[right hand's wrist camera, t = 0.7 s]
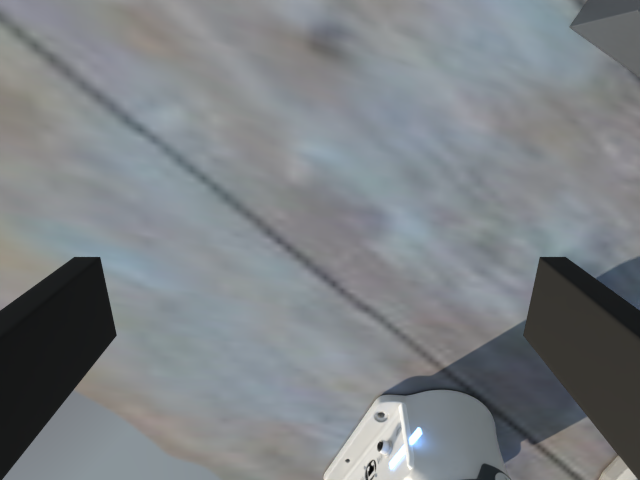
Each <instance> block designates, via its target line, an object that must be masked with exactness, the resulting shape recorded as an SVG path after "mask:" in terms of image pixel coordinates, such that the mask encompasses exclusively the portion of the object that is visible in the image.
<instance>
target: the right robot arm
mask: <svg viewBox="0 0 640 480" xmlns="http://www.w3.org/2000/svg"><path fill="white" fill-rule="evenodd" d="M116 336H117V335H116V330H115V325H114V321H113V316H112V311H111V306H110V302H109V297H108V292H107V287H106V283H105V278H104V273H103V268H102V264H101V259H100V257H74V258H72V259H71V260H70V261H68V262H67V263H66V264H64V265H63V266H61V267H60V268H59V269H57V270H56V271H55V272H53V273H52V274H50V275H49V276H48V277H46V278H45V279H43V280H42V281H41V282H39V283H38V284H37V285H35V286H34V287H32V288H31V289H30V290H28V291H27V292H25V293H24V294H23V295H21V296H20V297H19V298H17V299H16V300H14V301H13V302H12V303H10V304H9V305H8V306H6V307H5V308H3V309H2V310H1V311H0V480H2V479H3V478H4V476H5V475H6V474H7V473H8V471H9V470H10V469H11V468H12V466H13V465H14V464H15V463H16V461H17V460H18V459H19V458H20V456H21V455H22V454H23V453H24V451H25V450H26V449H27V448H28V446H29V445H30V444H31V443H32V441H33V440H34V439H35V438H36V436H37V435H38V434H39V432H40V431H41V430H42V429H43V427H44V426H45V425H46V424H47V422H48V421H49V420H50V419H51V417H52V416H53V415H54V414H55V412H56V411H57V410H58V409H59V407H60V406H61V405H62V404H63V402H64V401H65V400H66V398H67V397H68V396H69V395H70V393H71V392H72V391H73V390H74V388H75V387H76V386H77V385H78V383H79V382H80V381H81V380H82V378H83V377H84V376H85V375H86V373H87V372H88V371H89V370H90V368H91V367H92V366H93V365H94V363H95V362H96V361H97V359H98V358H99V357H100V356H101V354H102V353H103V352H104V351H105V349H106V348H107V347H108V346H109V344H110V343H111V342H112V341H113V339H114V338H115V337H116ZM523 336H524V337H525V338H526V339H527V341H528V342H529V343H530V344H531V346H532V347H533V348H534V349H535V351H536V352H537V353H538V354H539V356H540V357H541V358H542V359H543V361H544V362H545V363H546V365H547V366H548V367H549V368H550V370H551V371H552V372H553V373H554V375H555V376H556V377H557V378H558V380H559V381H560V382H561V383H562V385H563V386H564V387H565V388H566V390H567V391H568V392H569V393H570V395H571V396H572V397H573V399H574V400H575V401H576V402H577V404H578V405H579V406H580V407H581V409H582V410H583V411H584V412H585V414H586V415H587V416H588V417H589V419H590V420H591V421H592V422H593V424H594V425H595V426H596V427H597V429H598V430H599V431H600V433H601V434H602V435H603V436H604V438H605V439H606V440H607V441H608V443H609V444H610V445H611V446H612V448H613V449H614V450H615V451H616V453H617V454H618V455H619V456H620V458H621V459H622V460H623V461H624V463H625V464H626V465H627V467H628V468H629V469H630V470H631V472H632V473H633V474H634V475H635V477H636V478H637V479H638V480H640V311H639V310H638V309H637V308H635V307H634V306H632V305H631V304H630V303H628V302H627V301H626V300H624V299H623V298H621V297H620V296H619V295H617V294H616V293H615V292H613V291H612V290H610V289H609V288H608V287H606V286H605V285H603V284H602V283H601V282H599V281H598V280H597V279H595V278H594V277H592V276H591V275H590V274H588V273H587V272H585V271H584V270H583V269H581V268H580V267H579V266H577V265H576V264H574V263H573V262H572V261H570V260H569V259H568V258H566V257H540V259H539V264H538V268H537V273H536V278H535V283H534V287H533V292H532V297H531V302H530V306H529V311H528V316H527V321H526V325H525V330H524V335H523Z"/></svg>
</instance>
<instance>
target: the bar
mask: <svg viewBox="0 0 640 480" xmlns="http://www.w3.org/2000/svg"><path fill="white" fill-rule="evenodd" d="M570 28H571V29H572V30H574V31H575V32H577V33H578V34H579V35H581V36H582V37H584V38H585V39H586V40H588V41H589V42H591V43H592V44H593V45H595V46H596V47H598V48H599V49H600V50H602V51H603V52H605V53H606V54H607V55H609V56H610V57H612V58H613V59H614V60H616V61H617V62H619V63H620V64H621V65H623V66H624V67H626V68H627V69H629V70H630V71H631V72H633V73H634V74H636V75H637V76H638V77H640V0H588V1H587V2H586V4H585V5H584V7H583V8H582V9H581V11H580V12H579V14H578V15H577V17H576V18H575V20H574V21H573V22H572V24H571V25H570Z"/></svg>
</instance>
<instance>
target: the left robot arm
mask: <svg viewBox="0 0 640 480" xmlns="http://www.w3.org/2000/svg"><path fill="white" fill-rule="evenodd" d="M380 412H383V413H380ZM324 480H511V479H510V478H509V476H508V473H507V471H506V468H505V465H504V462H503V459H502V455H501V452H500V449H499V445H498V440H497V435H496V426H495V422H494V419H493V416H492V414H491V413H490V411H489V410H488V408H487V407H486V406H485V405H484V404H483V403H481V402H480V401H479V400H477V399H476V398H474V397H472V396H470V395H468V394H465V393H462V392H458V391H452V390H431V391H425V392H421V393H417V394H413V395H407V396H403V395H382V396H380V397H378V398H377V399H376V400H375V402H374V403H373V405H372V406H371V407H370V409H369V410H368V412H367V413H366V415H365V416H364V418H363V419H362V420H361V422H360V423H359V425H358V426H357V428H356V429H355V430H354V432H353V433H352V435H351V436H350V438H349V439H348V440H347V442H346V443H345V445H344V446H343V448H342V449H341V451H340V452H339V453H338V455H337V456H336V458H335V459H334V461H333V462H332V463H331V465H330V466H329V468H328V469H327V471H326V472H325V474H324Z"/></svg>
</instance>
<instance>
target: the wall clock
mask: <svg viewBox="0 0 640 480" xmlns="http://www.w3.org/2000/svg"><path fill="white" fill-rule="evenodd" d="M599 480H638V479H637V478H636V477H635V475H634V474H633V473H632V472H631V470H630V469H629V468H628V467H627V465H626V464H625V463H624V461H623V460H622V459H621V458H620V456H619V455H618V456H617V457H616V459H615V460H614V461H613V462H612V463H611V464H610V465H609V466H608V467H607V468H606V469H605V470H604V471H603V473H602V475H601V476H600V478H599Z"/></svg>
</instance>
